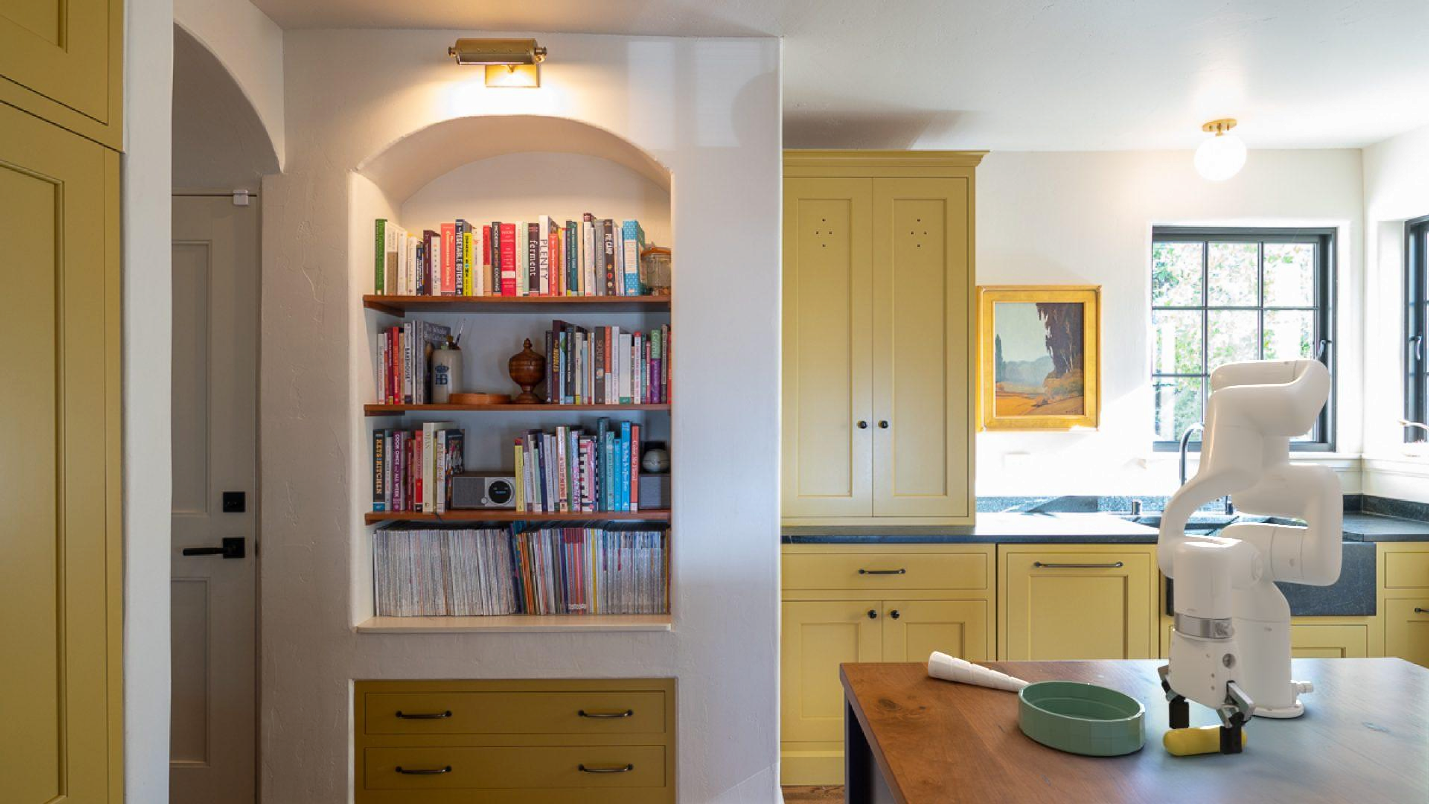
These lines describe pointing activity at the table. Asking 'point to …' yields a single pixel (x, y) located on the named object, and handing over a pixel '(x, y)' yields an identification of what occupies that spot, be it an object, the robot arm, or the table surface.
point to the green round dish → (1081, 718)
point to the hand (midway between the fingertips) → (1204, 740)
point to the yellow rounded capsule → (1195, 740)
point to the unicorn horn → (970, 673)
